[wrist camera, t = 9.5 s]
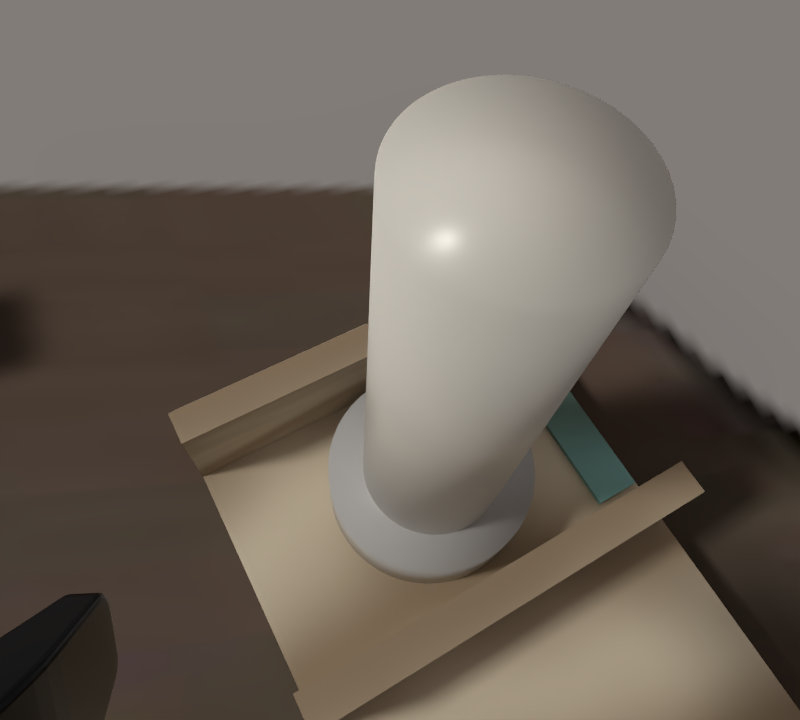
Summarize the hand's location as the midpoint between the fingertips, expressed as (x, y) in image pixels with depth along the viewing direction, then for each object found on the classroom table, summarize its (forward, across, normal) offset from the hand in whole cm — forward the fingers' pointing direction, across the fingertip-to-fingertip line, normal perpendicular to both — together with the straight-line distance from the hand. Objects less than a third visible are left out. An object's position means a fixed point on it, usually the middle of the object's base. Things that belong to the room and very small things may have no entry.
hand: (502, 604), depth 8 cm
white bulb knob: (+13, 0, +5) cm, 14 cm away
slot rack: (+11, -2, +8) cm, 14 cm away
